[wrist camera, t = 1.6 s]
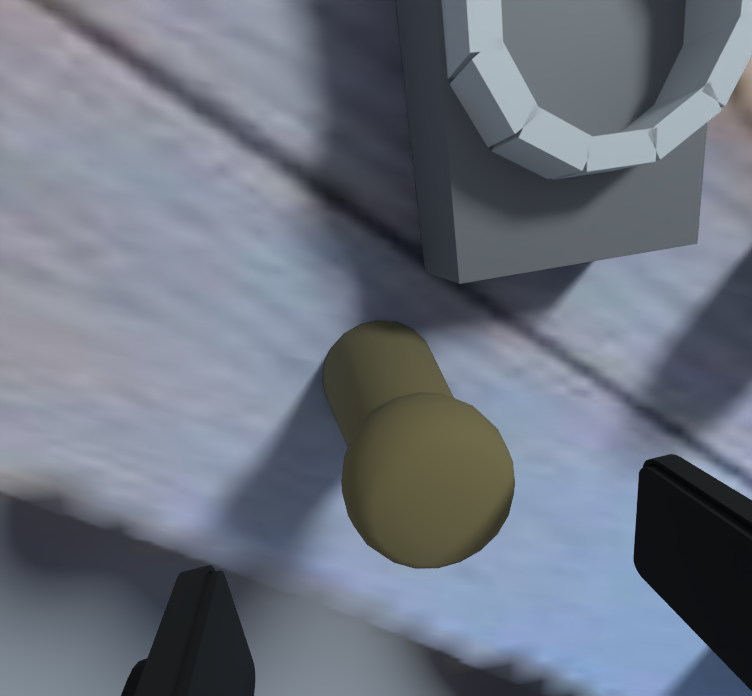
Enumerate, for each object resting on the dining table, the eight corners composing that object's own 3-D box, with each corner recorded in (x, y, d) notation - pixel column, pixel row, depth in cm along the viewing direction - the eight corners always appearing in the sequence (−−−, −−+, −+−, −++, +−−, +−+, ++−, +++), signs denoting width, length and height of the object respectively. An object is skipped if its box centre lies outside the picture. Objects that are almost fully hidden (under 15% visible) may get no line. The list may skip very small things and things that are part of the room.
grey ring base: (610, 241, 21) (748, 244, 14) (425, 272, 20) (480, 290, 13) (619, -160, 16) (827, -430, 10) (379, -146, 15) (428, -435, 9)
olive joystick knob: (435, 423, 22) (541, 589, 12) (326, 434, 22) (336, 621, 11) (436, 316, 21) (560, 399, 10) (318, 324, 20) (321, 422, 9)
